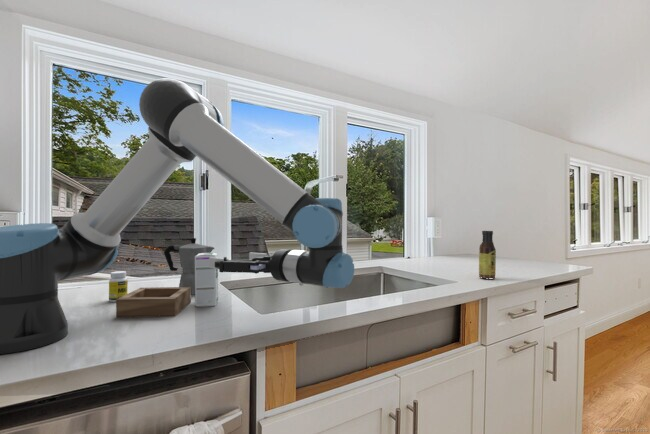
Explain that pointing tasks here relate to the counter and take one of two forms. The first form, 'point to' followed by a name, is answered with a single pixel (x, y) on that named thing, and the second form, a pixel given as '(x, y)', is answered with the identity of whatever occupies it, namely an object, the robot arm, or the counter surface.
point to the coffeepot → (187, 261)
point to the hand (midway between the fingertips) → (231, 259)
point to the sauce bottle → (487, 256)
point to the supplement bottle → (117, 285)
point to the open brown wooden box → (153, 302)
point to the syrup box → (205, 281)
